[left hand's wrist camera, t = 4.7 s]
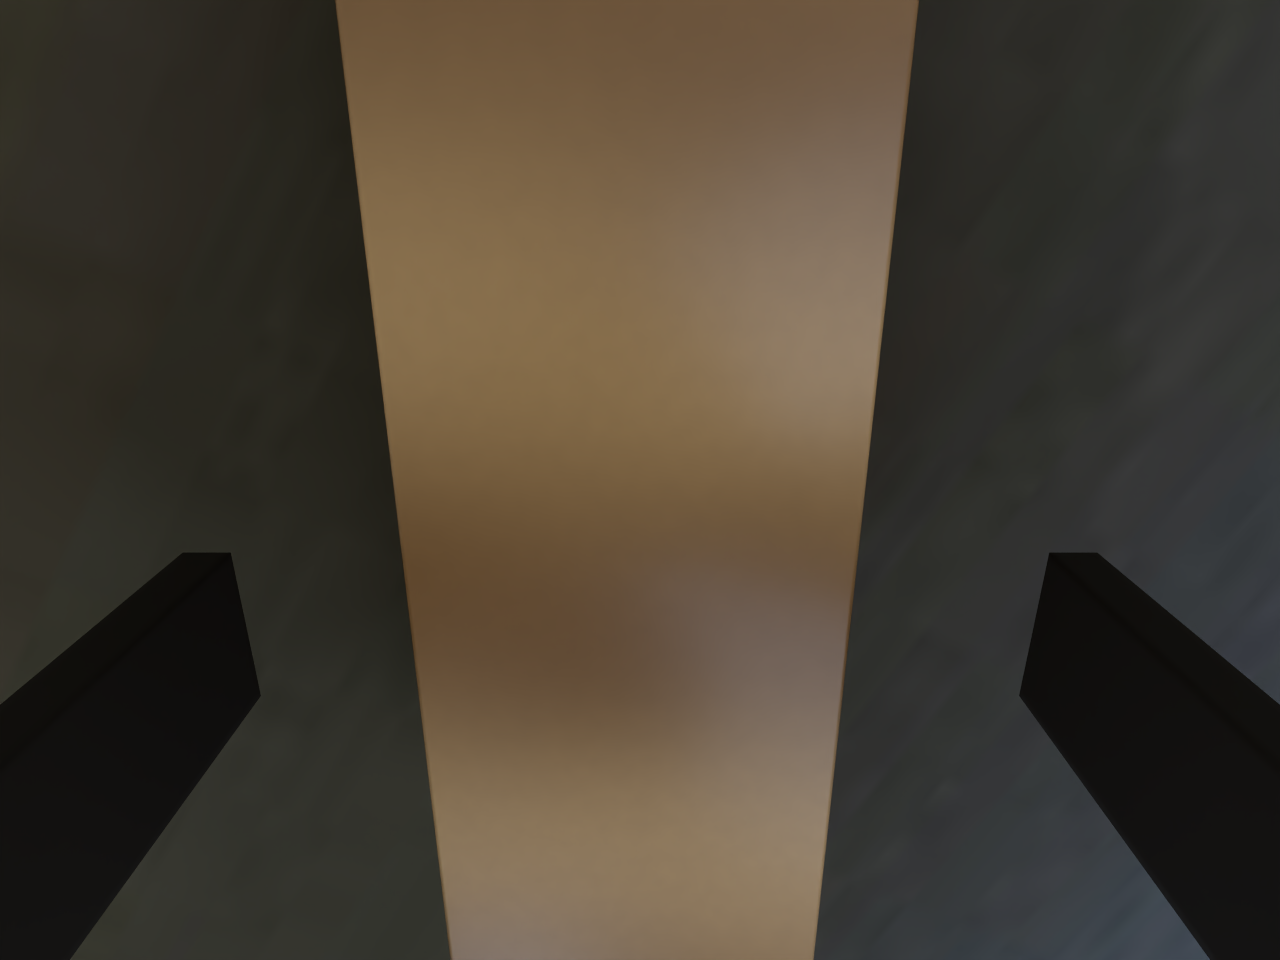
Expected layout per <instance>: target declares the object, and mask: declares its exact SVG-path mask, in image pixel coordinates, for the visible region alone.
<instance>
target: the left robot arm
mask: <svg viewBox="0 0 1280 960" xmlns="http://www.w3.org/2000/svg"><path fill="white" fill-rule="evenodd" d="M260 696H261V695H260V690H259V685H258V680H257V676H256V671H255V666H254V661H253V657H252V652H251V647H250V642H249V638H248V633H247V628H246V623H245V619H244V614H243V609H242V604H241V600H240V595H239V590H238V586H237V581H236V576H235V571H234V567H233V562H232V557H231V553H182V554H181V555H179V556H178V557H177V558H176V559H175V560H173V561H172V562H171V563H170V564H169V565H167V566H166V567H165V568H164V569H163V570H161V571H160V572H159V573H158V574H157V575H155V576H154V577H153V578H152V579H151V580H149V581H148V582H147V583H146V584H145V585H143V586H142V587H141V588H140V589H139V590H137V591H136V592H135V593H134V594H133V595H131V596H130V597H129V598H128V599H127V600H125V601H124V602H123V603H122V604H121V605H119V606H118V607H117V608H116V609H115V610H113V611H112V612H111V613H110V614H109V615H107V616H106V617H105V618H104V619H103V620H101V621H100V622H99V623H98V624H97V625H95V626H94V627H93V628H92V629H91V630H89V631H88V632H87V633H86V634H85V635H83V636H82V637H81V638H80V639H79V640H77V641H76V642H75V643H74V644H73V645H71V646H70V647H69V648H68V649H67V650H65V651H64V652H63V653H62V654H61V655H59V656H58V657H57V658H56V659H55V660H53V661H52V662H51V663H50V664H49V665H47V666H46V667H45V668H44V669H43V670H41V671H40V672H39V673H38V674H37V675H35V676H34V677H33V678H32V679H31V680H29V681H28V682H27V683H26V684H25V685H23V686H22V687H21V688H20V689H19V690H17V691H16V692H15V693H14V694H13V695H11V696H10V697H9V698H8V699H7V700H5V701H4V702H3V703H2V704H1V705H0V960H70V959H71V957H72V956H73V954H74V953H75V952H76V950H77V949H78V948H79V946H80V945H81V943H82V942H83V941H84V939H85V938H86V937H87V935H88V934H89V932H90V931H91V930H92V928H93V927H94V925H95V924H96V923H97V921H98V920H99V919H100V917H101V916H102V914H103V913H104V912H105V910H106V909H107V907H108V906H109V905H110V903H111V902H112V901H113V899H114V898H115V896H116V895H117V894H118V892H119V891H120V890H121V888H122V887H123V885H124V884H125V883H126V881H127V880H128V878H129V877H130V876H131V874H132V873H133V872H134V870H135V869H136V867H137V866H138V865H139V863H140V862H141V860H142V859H143V858H144V856H145V855H146V854H147V852H148V851H149V849H150V848H151V847H152V845H153V844H154V843H155V841H156V840H157V838H158V837H159V836H160V834H161V833H162V831H163V830H164V829H165V827H166V826H167V825H168V823H169V822H170V820H171V819H172V818H173V816H174V815H175V814H176V812H177V811H178V809H179V808H180V807H181V805H182V804H183V802H184V801H185V800H186V798H187V797H188V796H189V794H190V793H191V791H192V790H193V789H194V787H195V786H196V784H197V783H198V782H199V780H200V779H201V778H202V776H203V775H204V773H205V772H206V771H207V769H208V768H209V767H210V765H211V764H212V762H213V761H214V760H215V758H216V757H217V755H218V754H219V753H220V751H221V750H222V749H223V747H224V746H225V744H226V743H227V742H228V740H229V739H230V738H231V736H232V735H233V733H234V732H235V731H236V729H237V728H238V726H239V725H240V724H241V722H242V721H243V720H244V718H245V717H246V715H247V714H248V713H249V711H250V710H251V709H252V707H253V706H254V704H255V703H256V702H257V700H258V699H259V697H260ZM1019 696H1020V697H1021V699H1022V700H1023V702H1024V703H1025V704H1026V706H1027V707H1028V708H1029V710H1030V711H1031V713H1032V714H1033V715H1034V717H1035V718H1036V720H1037V721H1038V722H1039V724H1040V725H1041V726H1042V728H1043V729H1044V731H1045V732H1046V733H1047V735H1048V736H1049V738H1050V739H1051V740H1052V742H1053V743H1054V744H1055V746H1056V747H1057V749H1058V750H1059V751H1060V753H1061V754H1062V755H1063V757H1064V758H1065V760H1066V761H1067V762H1068V764H1069V765H1070V767H1071V768H1072V769H1073V771H1074V772H1075V773H1076V775H1077V776H1078V778H1079V779H1080V780H1081V782H1082V783H1083V784H1084V786H1085V787H1086V789H1087V790H1088V791H1089V793H1090V794H1091V796H1092V797H1093V798H1094V800H1095V801H1096V802H1097V804H1098V805H1099V807H1100V808H1101V809H1102V811H1103V812H1104V814H1105V815H1106V816H1107V818H1108V819H1109V820H1110V822H1111V823H1112V825H1113V826H1114V827H1115V829H1116V830H1117V831H1118V833H1119V834H1120V836H1121V837H1122V838H1123V840H1124V841H1125V843H1126V844H1127V845H1128V847H1129V848H1130V849H1131V851H1132V852H1133V854H1134V855H1135V856H1136V858H1137V859H1138V860H1139V862H1140V863H1141V865H1142V866H1143V867H1144V869H1145V870H1146V872H1147V873H1148V874H1149V876H1150V877H1151V878H1152V880H1153V881H1154V883H1155V884H1156V885H1157V887H1158V888H1159V890H1160V891H1161V892H1162V894H1163V895H1164V896H1165V898H1166V899H1167V901H1168V902H1169V903H1170V905H1171V906H1172V907H1173V909H1174V910H1175V912H1176V913H1177V914H1178V916H1179V917H1180V919H1181V920H1182V921H1183V923H1184V924H1185V925H1186V927H1187V928H1188V930H1189V931H1190V932H1191V934H1192V935H1193V936H1194V938H1195V939H1196V941H1197V942H1198V943H1199V945H1200V946H1201V948H1202V949H1203V950H1204V952H1205V953H1206V954H1207V956H1208V957H1209V959H1210V960H1280V705H1279V704H1278V703H1277V702H1276V701H1275V700H1273V699H1272V698H1271V697H1270V696H1269V695H1267V694H1266V693H1265V692H1264V691H1263V690H1261V689H1260V688H1259V687H1258V686H1257V685H1255V684H1254V683H1253V682H1252V681H1251V680H1249V679H1248V678H1247V677H1246V676H1245V675H1243V674H1242V673H1241V672H1240V671H1239V670H1237V669H1236V668H1235V667H1234V666H1233V665H1231V664H1230V663H1229V662H1228V661H1227V660H1225V659H1224V658H1223V657H1222V656H1221V655H1219V654H1218V653H1217V652H1216V651H1215V650H1213V649H1212V648H1211V647H1210V646H1209V645H1207V644H1206V643H1205V642H1204V641H1203V640H1201V639H1200V638H1199V637H1198V636H1197V635H1195V634H1194V633H1193V632H1192V631H1191V630H1189V629H1188V628H1187V627H1186V626H1185V625H1183V624H1182V623H1181V622H1180V621H1179V620H1177V619H1176V618H1175V617H1174V616H1173V615H1171V614H1170V613H1169V612H1168V611H1167V610H1165V609H1164V608H1163V607H1162V606H1161V605H1159V604H1158V603H1157V602H1156V601H1155V600H1153V599H1152V598H1151V597H1150V596H1149V595H1147V594H1146V593H1145V592H1144V591H1143V590H1141V589H1140V588H1139V587H1138V586H1137V585H1135V584H1134V583H1133V582H1132V581H1131V580H1129V579H1128V578H1127V577H1126V576H1125V575H1123V574H1122V573H1121V572H1120V571H1119V570H1117V569H1116V568H1115V567H1114V566H1113V565H1111V564H1110V563H1109V562H1108V561H1107V560H1105V559H1104V558H1103V557H1102V556H1101V555H1099V554H1098V553H1049V557H1048V562H1047V567H1046V571H1045V576H1044V581H1043V586H1042V590H1041V595H1040V600H1039V604H1038V609H1037V614H1036V619H1035V623H1034V628H1033V633H1032V638H1031V642H1030V647H1029V652H1028V657H1027V661H1026V666H1025V671H1024V676H1023V680H1022V685H1021V690H1020V695H1019Z"/></svg>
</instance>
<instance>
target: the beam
mask: <svg viewBox="0 0 1280 960" xmlns="http://www.w3.org/2000/svg"><path fill="white" fill-rule="evenodd" d="M335 4H336V12H337V20H338V29H339V37H340V45H341V54H342V62H343V70H344V79H345V87H346V95H347V103H348V112H349V120H350V128H351V137H352V145H353V153H354V162H355V170H356V178H357V187H358V195H359V203H360V212H361V220H362V228H363V236H364V245H365V253H366V261H367V270H368V278H369V286H370V295H371V303H372V311H373V320H374V328H375V336H376V344H377V353H378V361H379V369H380V378H381V386H382V394H383V403H384V411H385V419H386V428H387V436H388V444H389V453H390V461H391V469H392V477H393V486H394V494H395V502H396V511H397V519H398V527H399V536H400V544H401V552H402V561H403V569H404V577H405V586H406V594H407V602H408V610H409V619H410V627H411V635H412V644H413V652H414V660H415V669H416V677H417V685H418V694H419V702H420V710H421V718H422V727H423V735H424V743H425V752H426V760H427V768H428V777H429V785H430V793H431V802H432V810H433V818H434V827H435V835H436V843H437V851H438V860H439V868H440V876H441V885H442V893H443V901H444V910H445V918H446V926H447V935H448V943H449V951H450V960H814V950H815V941H816V932H817V923H818V914H819V905H820V896H821V887H822V878H823V869H824V860H825V850H826V841H827V832H828V823H829V814H830V805H831V796H832V787H833V778H834V769H835V759H836V750H837V741H838V732H839V723H840V714H841V705H842V696H843V687H844V678H845V669H846V659H847V650H848V641H849V632H850V623H851V614H852V605H853V596H854V587H855V578H856V569H857V559H858V550H859V541H860V532H861V523H862V514H863V505H864V496H865V487H866V478H867V469H868V459H869V450H870V441H871V432H872V423H873V414H874V405H875V396H876V387H877V378H878V368H879V359H880V350H881V341H882V332H883V323H884V314H885V305H886V296H887V287H888V278H889V268H890V259H891V250H892V241H893V232H894V223H895V214H896V205H897V196H898V187H899V178H900V168H901V159H902V150H903V141H904V132H905V123H906V114H907V105H908V96H909V87H910V78H911V68H912V59H913V50H914V41H915V32H916V23H917V14H918V5H919V0H335Z"/></svg>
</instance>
